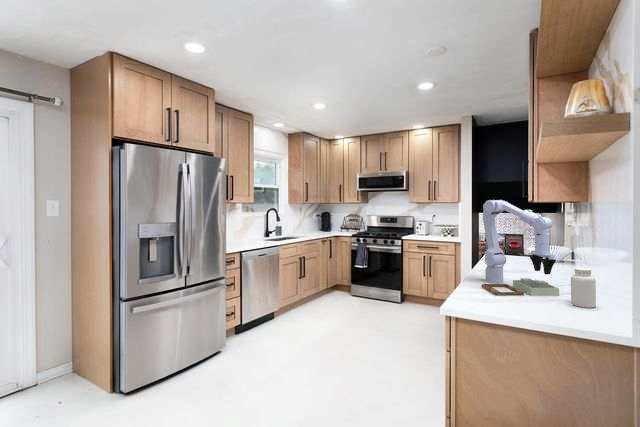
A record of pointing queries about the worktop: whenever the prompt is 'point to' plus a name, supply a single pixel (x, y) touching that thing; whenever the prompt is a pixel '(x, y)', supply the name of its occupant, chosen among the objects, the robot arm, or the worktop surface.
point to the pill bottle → (583, 288)
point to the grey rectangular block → (527, 282)
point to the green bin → (536, 289)
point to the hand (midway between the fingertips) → (542, 272)
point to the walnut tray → (497, 293)
